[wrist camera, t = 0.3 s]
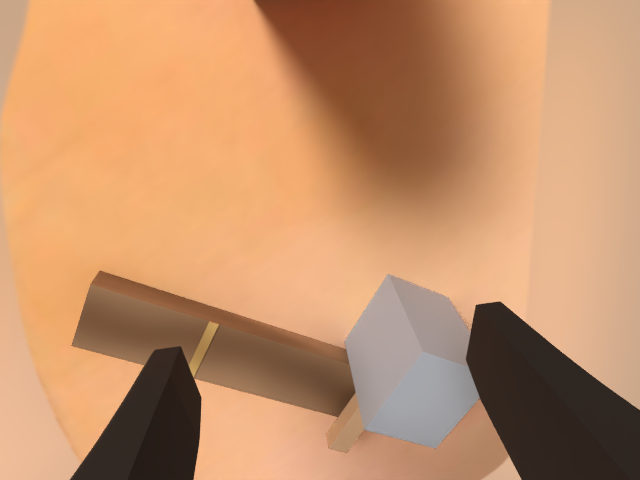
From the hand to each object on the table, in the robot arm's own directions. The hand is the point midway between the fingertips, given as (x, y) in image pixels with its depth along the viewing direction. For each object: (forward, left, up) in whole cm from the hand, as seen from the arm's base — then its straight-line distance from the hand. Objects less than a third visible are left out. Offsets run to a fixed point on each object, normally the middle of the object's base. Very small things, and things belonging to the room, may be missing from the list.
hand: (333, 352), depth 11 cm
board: (-10, -4, -11) cm, 15 cm away
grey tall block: (-8, -8, -11) cm, 15 cm away
